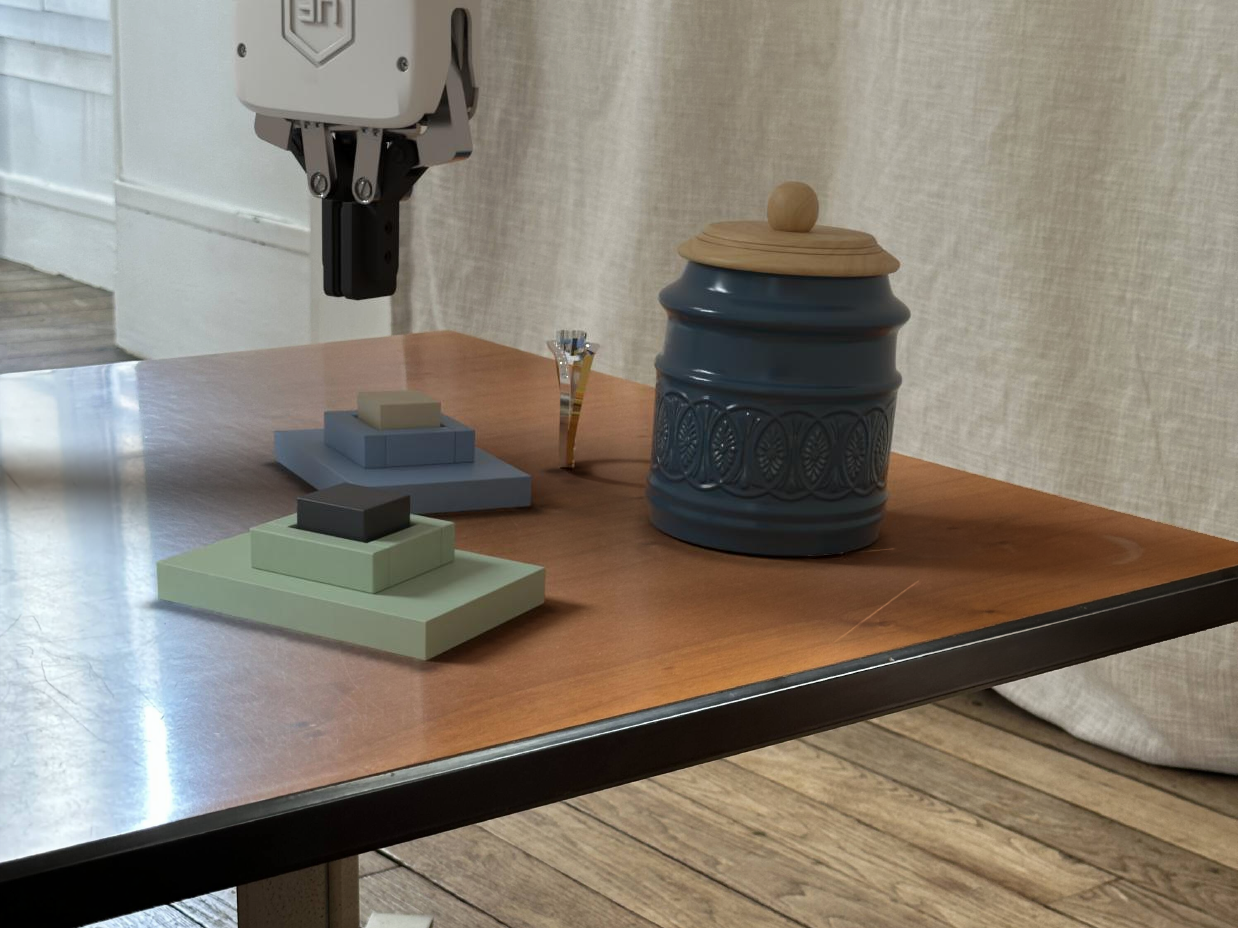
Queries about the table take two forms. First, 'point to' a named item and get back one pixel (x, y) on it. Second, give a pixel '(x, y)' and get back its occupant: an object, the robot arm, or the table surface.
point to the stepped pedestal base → (356, 585)
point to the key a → (353, 512)
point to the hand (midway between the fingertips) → (360, 294)
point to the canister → (776, 386)
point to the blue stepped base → (405, 463)
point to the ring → (571, 386)
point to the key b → (398, 409)
